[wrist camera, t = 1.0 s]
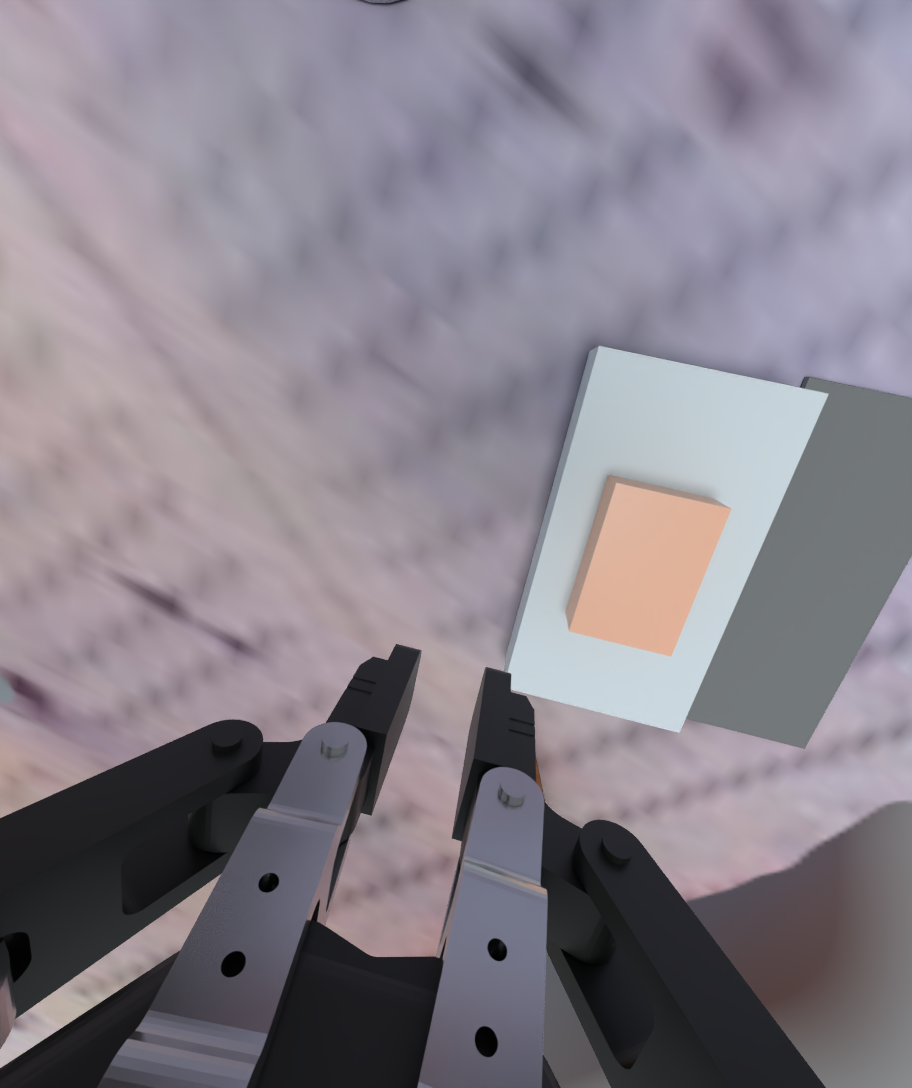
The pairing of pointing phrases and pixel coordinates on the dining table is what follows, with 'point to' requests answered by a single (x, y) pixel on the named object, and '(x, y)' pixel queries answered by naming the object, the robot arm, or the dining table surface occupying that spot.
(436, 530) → the dining table surface
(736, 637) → the mat
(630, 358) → the plate
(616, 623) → the peach rectangular block
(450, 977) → the robot arm
